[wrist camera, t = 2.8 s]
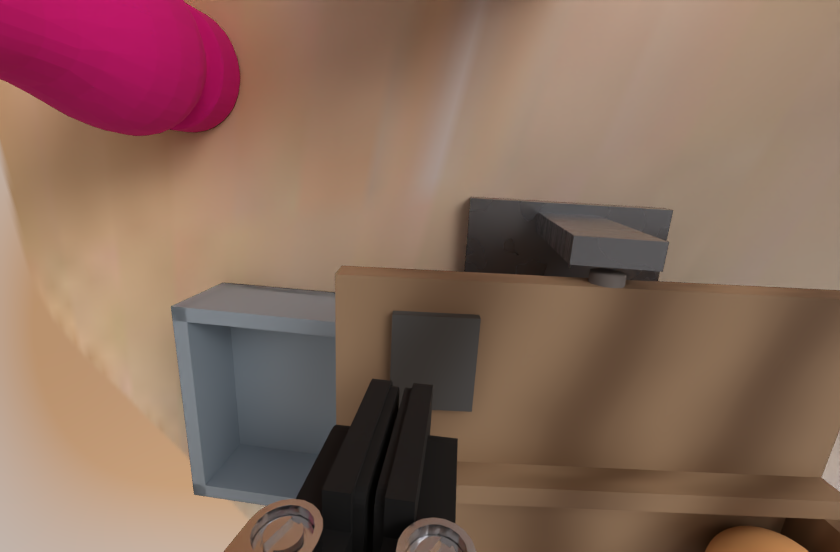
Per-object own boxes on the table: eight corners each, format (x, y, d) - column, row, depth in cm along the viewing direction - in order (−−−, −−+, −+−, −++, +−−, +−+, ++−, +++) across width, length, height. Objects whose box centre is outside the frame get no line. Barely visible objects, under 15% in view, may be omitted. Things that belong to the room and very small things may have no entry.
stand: (663, 208, 21) (791, 234, 12) (602, 496, 26) (665, 652, 17) (470, 196, 22) (470, 213, 14) (447, 475, 27) (436, 612, 18)
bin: (428, 300, 24) (418, 330, 19) (418, 469, 27) (407, 526, 22) (222, 282, 25) (170, 306, 21) (236, 444, 28) (194, 494, 24)
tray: (856, 280, 15) (990, 316, 11) (748, 583, 19) (822, 679, 15) (341, 255, 15) (316, 283, 11) (342, 566, 18) (324, 659, 15)
